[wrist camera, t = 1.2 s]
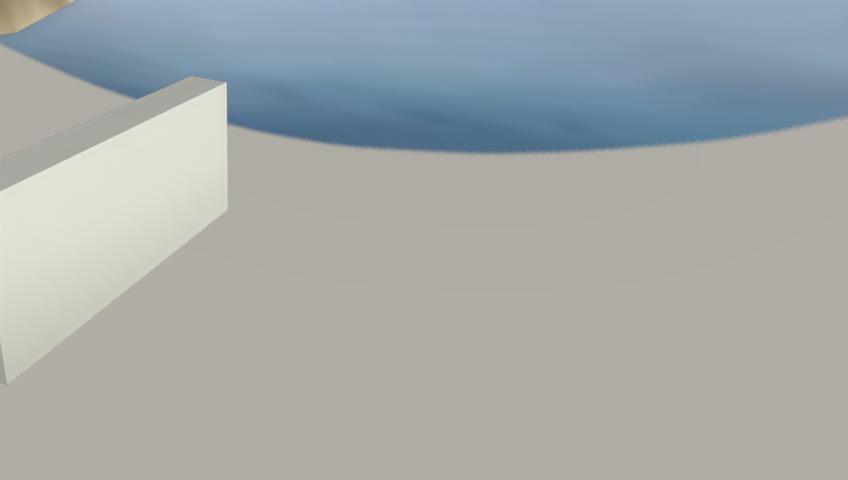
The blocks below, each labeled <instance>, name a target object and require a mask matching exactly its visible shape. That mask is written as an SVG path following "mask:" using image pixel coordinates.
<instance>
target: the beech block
mask: <svg viewBox="0 0 848 480" xmlns="http://www.w3.org/2000/svg"><path fill="white" fill-rule="evenodd" d="M73 1H75V0H0V35H1V34H8V33H16V32H18V31H20V30H22V29H24V28H26V27H27V26H29V25H31V24H33V23H35V22H37V21H38V20H40V19H42V18H44V17H46V16H48V15H50V14H51V13H53V12H55V11H57V10H59V9H61V8H62V7H64V6H66V5H68V4H70V3H72V2H73Z"/></svg>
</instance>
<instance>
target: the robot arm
mask: <svg viewBox="0 0 848 480" xmlns="http://www.w3.org/2000/svg"><path fill="white" fill-rule="evenodd" d="M227 209H228V205H227V89H226V82H221V81H216V80H210V79H204V78H198V77H192V76H191V77H188V78H186V79H184V80H181V81H179V82H177V83H174V84H172V85H170V86H167V87H165V88H163V89H160V90H158V91H156V92H154V93H151V94H149V95H147V96H144V97H142V98H140V99H137V100H135V101H133V102H130V103H128V104H126V105H123V106H121V107H119V108H116V109H114V110H112V111H109V112H107V113H105V114H102V115H100V116H98V117H95V118H93V119H91V120H89V121H86V122H84V123H82V124H79V125H77V126H75V127H72V128H70V129H68V130H65V131H63V132H61V133H58V134H56V135H54V136H51V137H49V138H47V139H44V140H42V141H40V142H38V143H35V144H33V145H31V146H28V147H26V148H24V149H21V150H19V151H17V152H14V153H12V154H10V155H7V156H5V157H3V158H0V383H2V384H6V385H8V384H9V383H10V382H12V381H13V380H14V379H15V378H17V377H18V376H19V375H20V374H22V373H23V372H24V371H25V370H27V369H28V368H29V367H30V366H32V365H33V364H34V363H35V362H36V361H38V360H39V359H40V358H42V357H43V356H44V355H45V354H47V353H48V352H49V351H50V350H52V349H53V348H54V347H55V346H57V345H58V344H59V343H60V342H62V341H63V340H64V339H66V338H67V337H68V336H69V335H70V334H72V333H73V332H74V331H76V330H77V329H78V328H79V327H80V326H82V325H83V324H84V323H86V322H87V321H88V320H89V319H90V318H92V317H93V316H94V315H96V314H97V313H98V312H99V311H101V310H102V309H103V308H105V307H106V306H107V305H108V304H110V303H111V302H112V301H113V300H115V299H116V298H117V297H118V296H119V295H121V294H122V293H123V292H125V291H126V290H127V289H128V288H130V287H131V286H132V285H133V284H135V283H136V282H137V281H138V280H140V279H141V278H142V277H143V276H145V275H146V274H147V273H148V272H150V271H151V270H152V269H153V268H155V267H156V266H157V265H159V264H160V263H161V262H162V261H164V260H165V259H166V258H167V257H169V256H170V255H171V254H172V253H174V252H175V251H176V250H177V249H178V248H180V247H181V246H182V245H183V244H185V243H186V242H187V241H189V240H190V239H191V238H192V237H194V236H195V235H196V234H197V233H199V232H200V231H201V230H203V229H204V228H205V227H206V226H207V225H209V224H210V223H211V222H213V221H214V220H215V219H216V218H218V217H219V216H220V215H221V214H222V213H224V212H225V211H226V210H227Z"/></svg>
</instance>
